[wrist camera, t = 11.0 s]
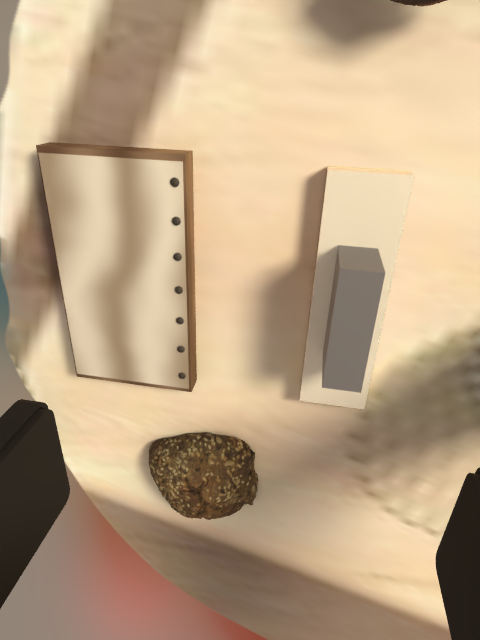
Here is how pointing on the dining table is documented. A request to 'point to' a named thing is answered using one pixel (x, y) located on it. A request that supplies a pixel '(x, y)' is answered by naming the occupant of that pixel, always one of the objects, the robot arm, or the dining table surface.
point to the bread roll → (204, 474)
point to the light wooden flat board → (125, 260)
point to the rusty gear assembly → (418, 2)
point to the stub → (352, 281)
